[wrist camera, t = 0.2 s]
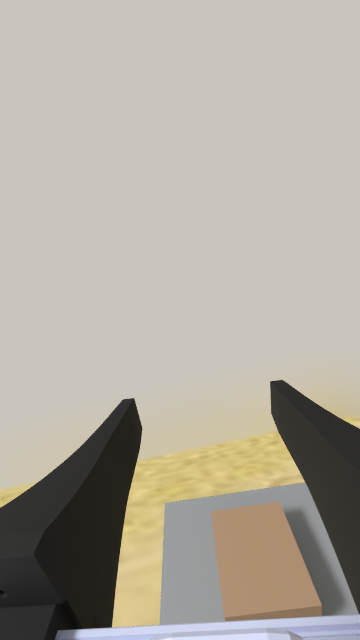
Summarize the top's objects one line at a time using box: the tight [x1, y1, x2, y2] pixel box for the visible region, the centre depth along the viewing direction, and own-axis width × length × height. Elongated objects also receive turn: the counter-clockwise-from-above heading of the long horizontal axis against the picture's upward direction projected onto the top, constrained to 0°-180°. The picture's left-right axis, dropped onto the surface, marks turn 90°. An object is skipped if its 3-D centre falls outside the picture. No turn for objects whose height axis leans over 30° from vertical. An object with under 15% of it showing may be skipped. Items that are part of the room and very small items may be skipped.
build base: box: [160, 483, 359, 625], centre depth 20 cm, size 14×18×4 cm
